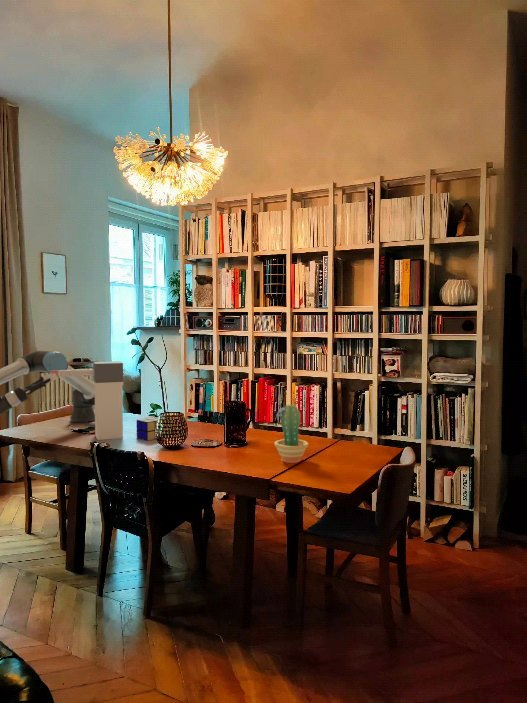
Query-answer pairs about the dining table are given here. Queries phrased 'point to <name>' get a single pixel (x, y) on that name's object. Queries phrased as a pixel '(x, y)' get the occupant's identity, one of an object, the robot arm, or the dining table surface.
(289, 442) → the potted cactus
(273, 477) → the dining table surface
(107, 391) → the socket stand
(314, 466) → the dining table surface
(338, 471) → the dining table surface
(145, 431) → the puzzle cube
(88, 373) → the plug rod
